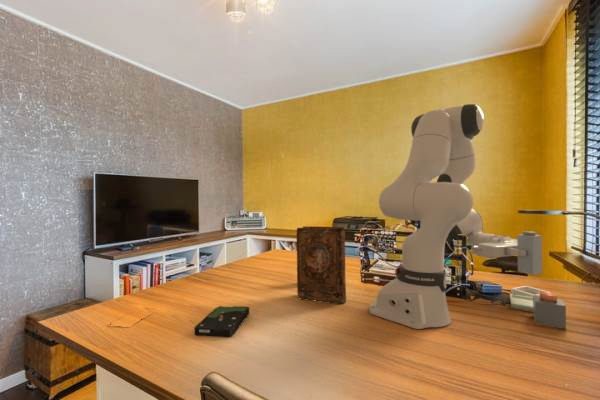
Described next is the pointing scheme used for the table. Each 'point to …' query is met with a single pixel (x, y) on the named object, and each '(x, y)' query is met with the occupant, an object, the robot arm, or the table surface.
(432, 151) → the robot arm
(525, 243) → the cartridge
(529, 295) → the socket collar
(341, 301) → the book
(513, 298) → the tray
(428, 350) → the table surface
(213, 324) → the disk drive
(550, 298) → the button
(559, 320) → the button post
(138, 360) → the table surface
